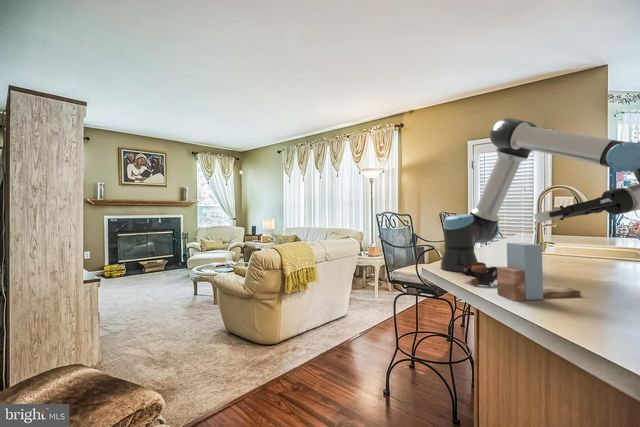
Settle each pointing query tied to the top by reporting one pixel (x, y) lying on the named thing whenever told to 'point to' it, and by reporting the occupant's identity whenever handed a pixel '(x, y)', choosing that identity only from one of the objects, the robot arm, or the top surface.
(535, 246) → the blue-grey tall block
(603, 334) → the top surface
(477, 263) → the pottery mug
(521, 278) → the wooden mallet
